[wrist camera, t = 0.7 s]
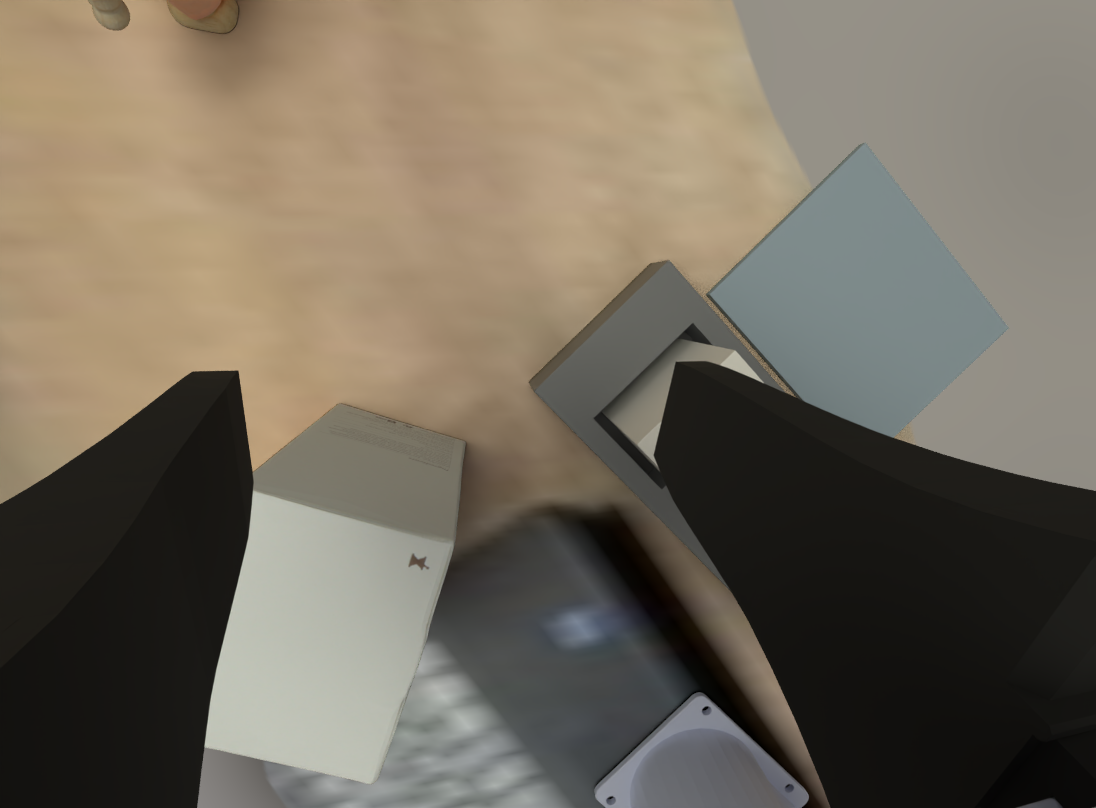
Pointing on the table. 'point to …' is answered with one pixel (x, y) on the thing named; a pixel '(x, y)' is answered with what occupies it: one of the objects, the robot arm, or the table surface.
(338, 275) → the table surface
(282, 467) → the small box
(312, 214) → the table surface
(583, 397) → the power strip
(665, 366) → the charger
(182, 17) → the grandmother figurine
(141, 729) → the robot arm
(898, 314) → the mat
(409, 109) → the table surface
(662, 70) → the table surface
